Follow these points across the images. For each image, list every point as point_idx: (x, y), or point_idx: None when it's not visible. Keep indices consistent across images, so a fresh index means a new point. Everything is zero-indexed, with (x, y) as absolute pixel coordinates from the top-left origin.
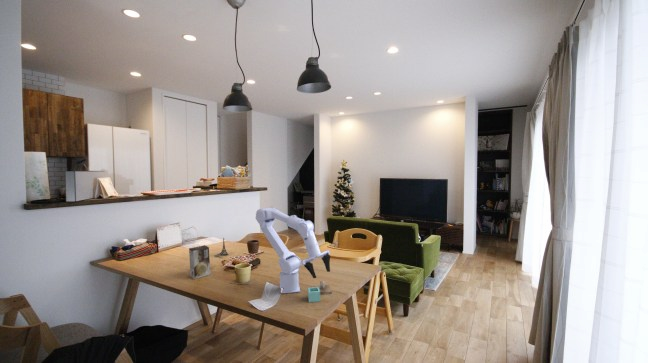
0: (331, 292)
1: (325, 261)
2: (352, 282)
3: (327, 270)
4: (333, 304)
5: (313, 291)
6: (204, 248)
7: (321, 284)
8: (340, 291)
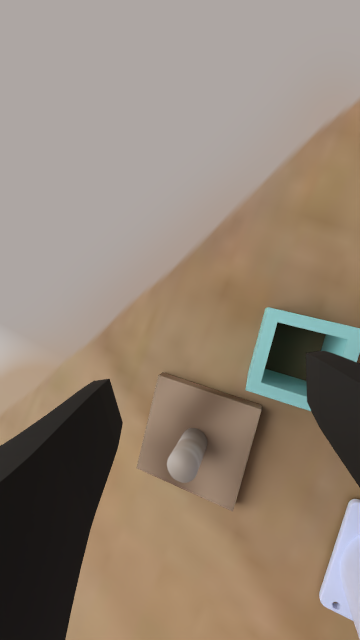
0: (162, 374)
1: (35, 537)
2: None
3: (113, 421)
4: (206, 244)
5: (318, 330)
6: None
7: (196, 450)
8: (112, 375)
